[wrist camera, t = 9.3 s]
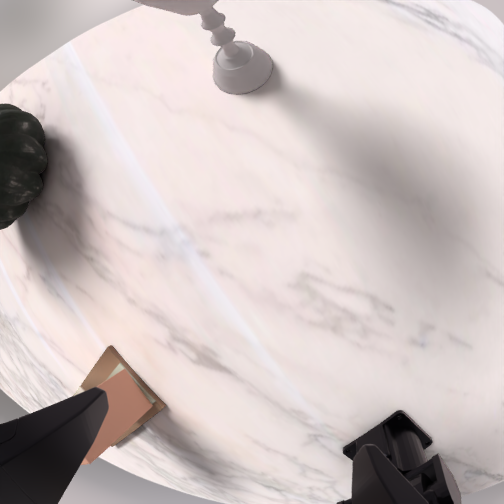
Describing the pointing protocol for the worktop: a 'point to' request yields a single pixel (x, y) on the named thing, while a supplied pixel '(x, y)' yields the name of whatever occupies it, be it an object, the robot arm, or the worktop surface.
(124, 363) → the walnut board
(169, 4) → the chalice
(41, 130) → the squash
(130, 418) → the terracotta block
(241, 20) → the worktop surface
